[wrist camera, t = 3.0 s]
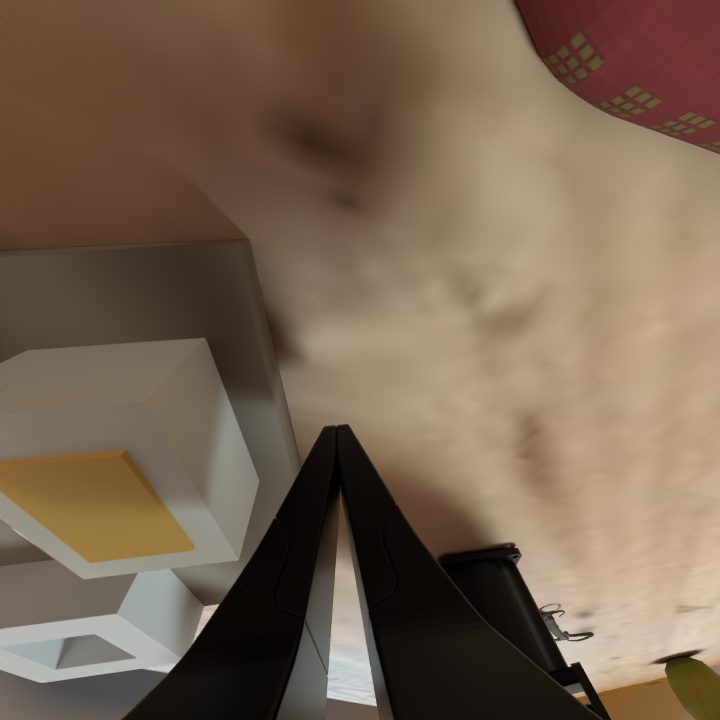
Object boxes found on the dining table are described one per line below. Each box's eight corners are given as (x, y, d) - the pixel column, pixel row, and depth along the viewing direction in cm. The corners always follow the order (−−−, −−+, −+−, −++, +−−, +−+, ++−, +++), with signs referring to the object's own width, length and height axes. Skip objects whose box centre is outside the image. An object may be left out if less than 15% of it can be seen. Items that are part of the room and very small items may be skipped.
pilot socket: (150, 548, 13) (116, 613, 11) (204, 606, 18) (186, 662, 15) (-19, 568, 13) (-88, 640, 11) (77, 622, 17) (41, 682, 15)
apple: (689, 659, 60) (756, 743, 51) (647, 667, 61) (704, 752, 51) (709, 648, 55) (787, 739, 46) (662, 657, 55) (730, 749, 46)
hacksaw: (489, 611, 30) (496, 629, 28) (581, 583, 28) (594, 602, 27) (525, 650, 41) (531, 664, 40) (591, 633, 40) (600, 647, 38)
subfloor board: (248, 238, 8) (232, 245, 7) (324, 564, 19) (323, 590, 18) (-454, 271, 7) (-637, 287, 6) (64, 597, 18) (44, 627, 17)
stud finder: (205, 337, 8) (139, 407, 5) (259, 480, 11) (237, 565, 9) (27, 350, 8) (-141, 430, 5) (140, 493, 11) (79, 585, 8)
